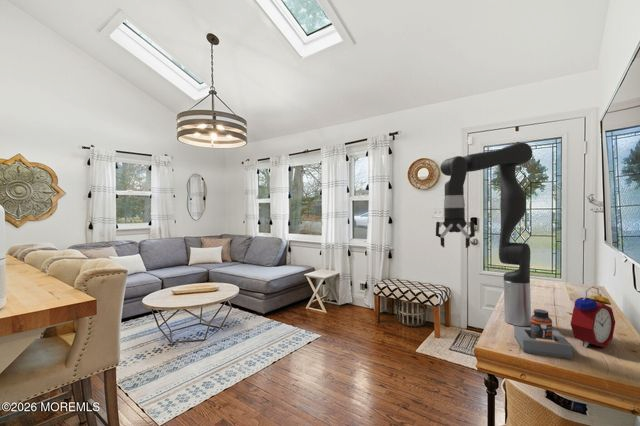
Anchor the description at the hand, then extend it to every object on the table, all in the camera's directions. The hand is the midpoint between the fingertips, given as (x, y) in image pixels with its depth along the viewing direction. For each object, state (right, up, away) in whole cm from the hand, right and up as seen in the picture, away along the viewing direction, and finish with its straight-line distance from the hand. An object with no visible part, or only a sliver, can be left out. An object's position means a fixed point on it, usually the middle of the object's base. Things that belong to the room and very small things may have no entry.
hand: (454, 247), depth 120 cm
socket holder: (+21, -32, -18) cm, 42 cm away
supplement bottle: (+21, -31, -18) cm, 42 cm away
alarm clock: (+40, -32, -16) cm, 53 cm away
